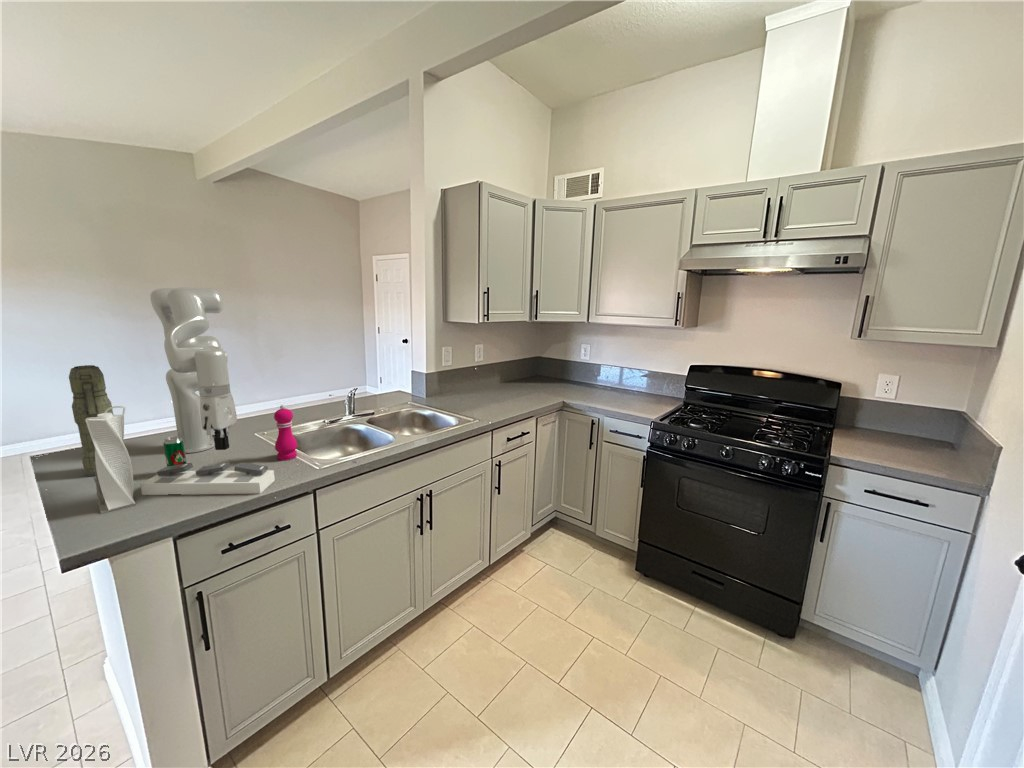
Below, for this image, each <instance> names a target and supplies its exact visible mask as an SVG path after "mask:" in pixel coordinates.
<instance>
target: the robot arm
mask: <svg viewBox="0 0 1024 768" xmlns="http://www.w3.org/2000/svg"><path fill="white" fill-rule="evenodd" d="M149 296H150V303H151V306H152V309H153V310H154V312H155V314H156V315H157V317H158V318H159V320H160V322H161V324H162V328H163V333H164V344H163V345H164V352H165V355H166V359H167V361H168V364H169V366H170V367H169V368H170V369H169V370H168V371H167V372H166V374H165V381H166V384H167V387H168V390H169V393H170V396H171V401H172V407H173V412H174V413H173V414H174V419H175V425H176V426H175V427H176V433H177V434H176V435H177V436H180V437H181V438H182V439H183V441H184V448H185V454H192V453H198V452H204V451H206V450H210V449H212V448H213V447H214V450H216V451H225V450H228V449H229V448H230V441H229V434H230V432H229V431H230V428H231V427H232V426H233V425H234V424H236V423H237V422H238V417H237V411H236V404H235V401H234V398H233V397H234V396H233V394H232V392H231V386H230V378H229V377H230V376H229V368H228V354H227V352H226V351H225V350H224V349H223V348H222V347H221V343H220V341H219V340H218V338H216V337H215V336H213V335H203V334H205V333H206V332H207V331H208V330H209V328H210V321H209V319H208V317H207V315H206V314H220V313H221V312H222V310H223V308H224V302H223V298H222V296H221V294H220V293H219V291H217V290H216V289H214V288H211V287H209V288H207V287H176V288H173V287H170V288H169V287H167V288H156V289H154V290H152V291H151V292H150V295H149ZM196 392H198V394H197V393H196ZM210 436H211V437H212V438H213V439H211V437H210Z"/></svg>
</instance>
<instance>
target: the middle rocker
mask: <svg viewBox="0 0 1024 768" xmlns="http://www.w3.org/2000/svg"><path fill="white" fill-rule="evenodd" d="M229 468H231V463H230V462H223V463H217V464H212V465H205V466H202V467H201V468H199V469H197V470H194V471H195V472H196V475H197V476H198V475H204V474H209V475H212V474H213V473H216V472H222V471H227V470H228V469H229Z"/></svg>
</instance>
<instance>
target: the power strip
mask: <svg viewBox="0 0 1024 768" xmlns="http://www.w3.org/2000/svg"><path fill="white" fill-rule="evenodd" d="M195 471H196V470H187V471H185V472H180V473H176V474H174V475H170V474H168V475H162V476H158V474H157V473H156V475H154V476H152V477H150V478H149V479H146V480H145V481H144V482H141V483H140V488H141V489H140V490H141V495H142V496H160V495H161V496H166V495H168V494H181V495H236V494H237V495H238V494H239V495H240V494H243V495H247V494H249V495H251V494H252V495H254V494H262V493H263V492H264V491H265V490H266V489H268V487H269V486H270V485H272V484H273V483H274V481H275V480H276V479H275V470H272V469H268V470H267V471H266V472H265V473H264V474H262V475H257V474H251V473H250V474H249V475H247V474H246V473H244V472H237V471H234V470H225V471H222V472H216V473H213V474H212V475H209V474H204V475H198V476H197V475H196V472H195Z"/></svg>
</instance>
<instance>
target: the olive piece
mask: <svg viewBox="0 0 1024 768" xmlns="http://www.w3.org/2000/svg"><path fill="white" fill-rule="evenodd" d="M103 373H104V372H102V369H100V367H99V366H96V365H93V364H90V365H85V364H84V365H78V366H77V365H76V366H74V367H71V368H70V371H69V374H68V379H69V386H70V389H71V391H70V392H71V393H72V395H73V396H72V403H71V409H72V414H73V420H74V423H75V424H76V425H77V429H78V433H79V439H80V443H81V448H82V456H81V461H82V462H81V463H82V466H83V468H84V470H85V475H88V476H87V477H96V474H95V470H94V468H95V464H94V462H95V446H94V443H93V441H92V438H91V435H90V433H89V430H88V427H87V424H86V421H85V420H86V418H90V417H98V416H97V415H98V414H102V413H104V412H105V411H106V409H108V408H110V407H113V405H112V401H111V399H110V398H109V397H108V393H107V392H106V389H107V387H106V382H105V381H106V380H105V375H104V374H103ZM107 413H112V415H114V410H113V409H110V410H108V411H107Z"/></svg>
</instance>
